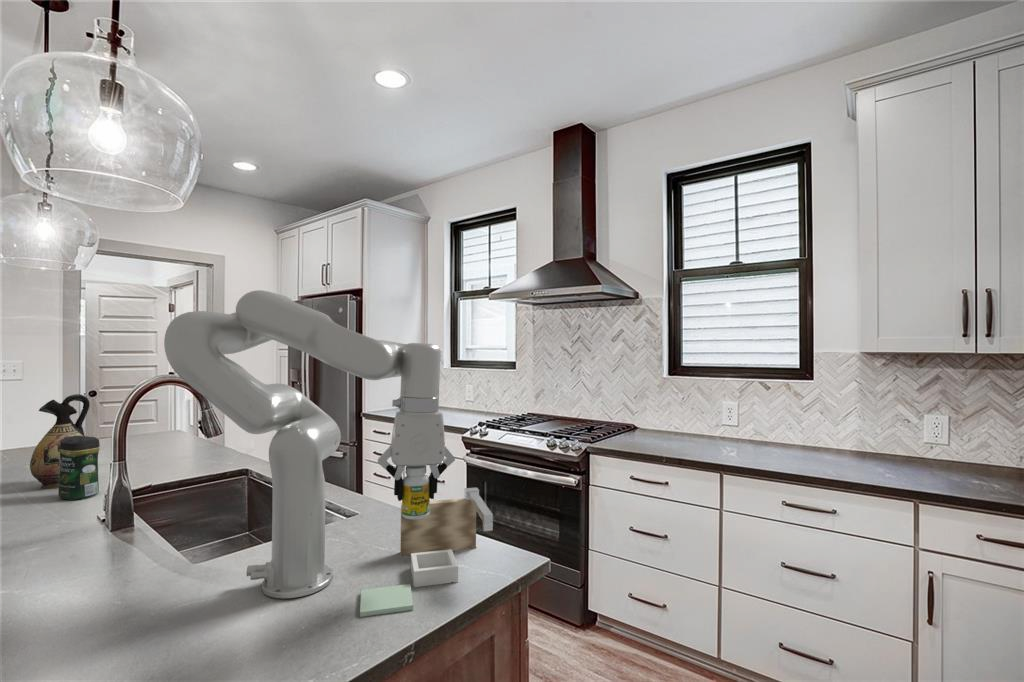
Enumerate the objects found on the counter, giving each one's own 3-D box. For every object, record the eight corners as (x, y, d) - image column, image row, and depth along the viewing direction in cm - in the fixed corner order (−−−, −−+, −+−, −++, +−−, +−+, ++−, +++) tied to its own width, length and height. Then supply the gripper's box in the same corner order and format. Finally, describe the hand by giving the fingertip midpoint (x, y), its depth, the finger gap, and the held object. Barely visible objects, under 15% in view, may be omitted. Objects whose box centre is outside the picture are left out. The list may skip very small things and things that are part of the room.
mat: (359, 616, 83) (359, 612, 83) (361, 594, 91) (361, 589, 91) (413, 609, 85) (413, 605, 85) (410, 588, 93) (410, 584, 93)
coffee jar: (52, 498, 146) (54, 437, 146) (82, 491, 153) (84, 432, 154) (73, 502, 143) (75, 439, 143) (103, 494, 150) (105, 434, 151)
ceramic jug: (31, 494, 150) (33, 397, 150) (27, 485, 160) (30, 394, 160) (102, 483, 162) (104, 394, 163) (94, 475, 173) (96, 391, 173)
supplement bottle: (422, 508, 99) (422, 461, 99) (434, 516, 94) (434, 467, 95) (397, 514, 96) (397, 465, 96) (408, 522, 91) (409, 471, 91)
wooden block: (400, 555, 108) (401, 505, 108) (400, 552, 110) (401, 503, 110) (475, 547, 112) (476, 500, 112) (474, 544, 114) (474, 497, 114)
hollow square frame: (413, 587, 93) (414, 571, 93) (410, 567, 102) (410, 553, 102) (458, 581, 96) (458, 566, 96) (451, 563, 104) (451, 549, 104)
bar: (480, 531, 96) (481, 514, 96) (464, 502, 114) (464, 488, 114) (495, 530, 97) (495, 513, 97) (476, 501, 115) (477, 487, 115)
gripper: (375, 408, 89) (370, 506, 89) (466, 408, 95) (462, 501, 94) (373, 403, 96) (369, 494, 96) (458, 403, 102) (454, 490, 101)
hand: (415, 496), depth 95 cm, fingers closed on supplement bottle, 5 cm apart
